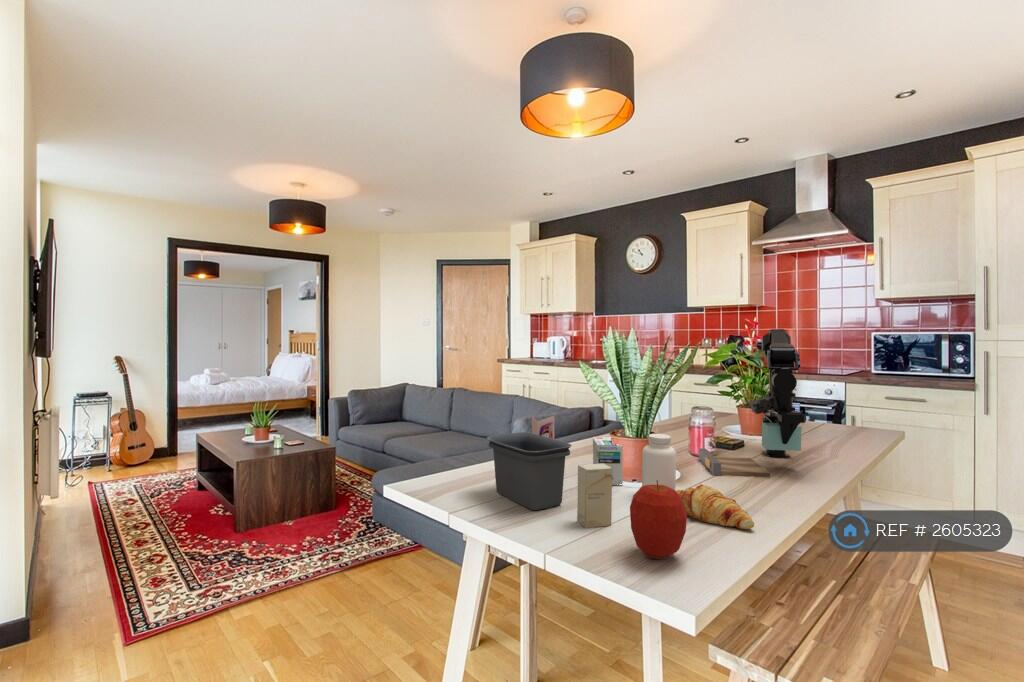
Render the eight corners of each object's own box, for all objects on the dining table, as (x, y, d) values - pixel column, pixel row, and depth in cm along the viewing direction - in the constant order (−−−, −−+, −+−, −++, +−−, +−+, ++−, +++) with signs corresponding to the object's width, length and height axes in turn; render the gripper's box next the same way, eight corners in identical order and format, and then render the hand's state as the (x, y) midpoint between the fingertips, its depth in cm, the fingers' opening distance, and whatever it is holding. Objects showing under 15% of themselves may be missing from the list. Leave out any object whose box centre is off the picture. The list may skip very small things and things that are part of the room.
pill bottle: (678, 502, 120) (678, 439, 120) (643, 500, 121) (643, 438, 121) (673, 491, 128) (673, 432, 127) (640, 490, 129) (640, 431, 129)
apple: (662, 574, 84) (662, 491, 84) (616, 553, 93) (617, 477, 92) (698, 558, 90) (699, 481, 90) (653, 539, 99) (653, 468, 98)
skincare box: (585, 528, 104) (585, 470, 104) (576, 520, 108) (576, 464, 108) (612, 525, 106) (613, 467, 105) (603, 517, 110) (603, 462, 110)
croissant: (760, 546, 104) (771, 509, 106) (737, 533, 99) (748, 494, 101) (675, 513, 121) (685, 481, 123) (650, 501, 116) (662, 468, 118)
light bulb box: (623, 486, 133) (623, 445, 132) (597, 485, 133) (597, 445, 132) (615, 474, 143) (616, 436, 143) (592, 474, 143) (592, 436, 143)
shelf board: (706, 460, 159) (706, 456, 159) (750, 461, 157) (750, 457, 157) (721, 475, 142) (721, 471, 142) (770, 477, 140) (770, 473, 140)
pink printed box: (539, 474, 143) (539, 421, 143) (516, 470, 147) (516, 419, 146) (556, 465, 153) (556, 415, 153) (535, 462, 157) (535, 413, 156)
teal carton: (761, 445, 151) (761, 422, 151) (793, 446, 150) (793, 423, 150) (767, 449, 146) (768, 425, 146) (801, 450, 145) (801, 426, 145)
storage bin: (481, 492, 128) (481, 435, 127) (531, 482, 136) (531, 429, 136) (530, 518, 110) (530, 452, 109) (584, 504, 118) (584, 444, 118)
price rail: (698, 459, 160) (698, 448, 160) (705, 459, 160) (705, 448, 160) (712, 475, 142) (712, 463, 142) (720, 475, 142) (720, 463, 142)
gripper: (742, 385, 158) (742, 434, 159) (763, 392, 140) (763, 448, 140) (780, 385, 157) (780, 435, 157) (806, 393, 138) (806, 449, 139)
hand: (781, 441), depth 148 cm, fingers closed on teal carton, 5 cm apart
